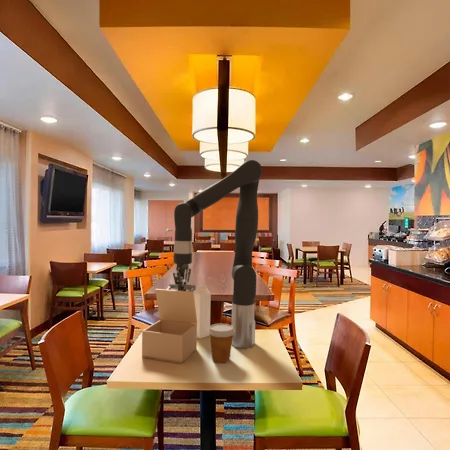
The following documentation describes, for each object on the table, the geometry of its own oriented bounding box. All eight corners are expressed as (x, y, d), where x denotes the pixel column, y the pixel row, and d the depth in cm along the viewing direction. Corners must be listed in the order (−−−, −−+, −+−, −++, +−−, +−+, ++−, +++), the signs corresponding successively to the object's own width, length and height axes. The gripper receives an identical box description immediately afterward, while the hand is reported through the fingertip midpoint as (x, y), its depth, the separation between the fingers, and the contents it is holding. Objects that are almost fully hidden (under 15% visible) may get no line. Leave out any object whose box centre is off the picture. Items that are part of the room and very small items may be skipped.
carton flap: (196, 323, 134) (204, 311, 142) (193, 292, 129) (200, 281, 137) (160, 319, 139) (169, 307, 146) (155, 289, 134) (164, 278, 142)
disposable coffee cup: (236, 356, 128) (237, 324, 128) (230, 366, 119) (230, 333, 119) (212, 352, 131) (213, 322, 131) (204, 363, 122) (204, 330, 121)
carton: (196, 349, 134) (196, 324, 134) (181, 363, 121) (182, 336, 121) (159, 344, 139) (160, 319, 139) (141, 357, 125) (142, 330, 125)
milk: (210, 335, 150) (211, 285, 149) (199, 338, 146) (200, 287, 145) (201, 331, 154) (202, 283, 153) (190, 334, 150) (191, 285, 149)
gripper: (184, 253, 131) (183, 298, 132) (197, 251, 145) (196, 291, 145) (167, 252, 134) (165, 296, 134) (181, 250, 147) (180, 290, 147)
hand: (181, 293), depth 139 cm, fingers closed on carton flap, 2 cm apart
